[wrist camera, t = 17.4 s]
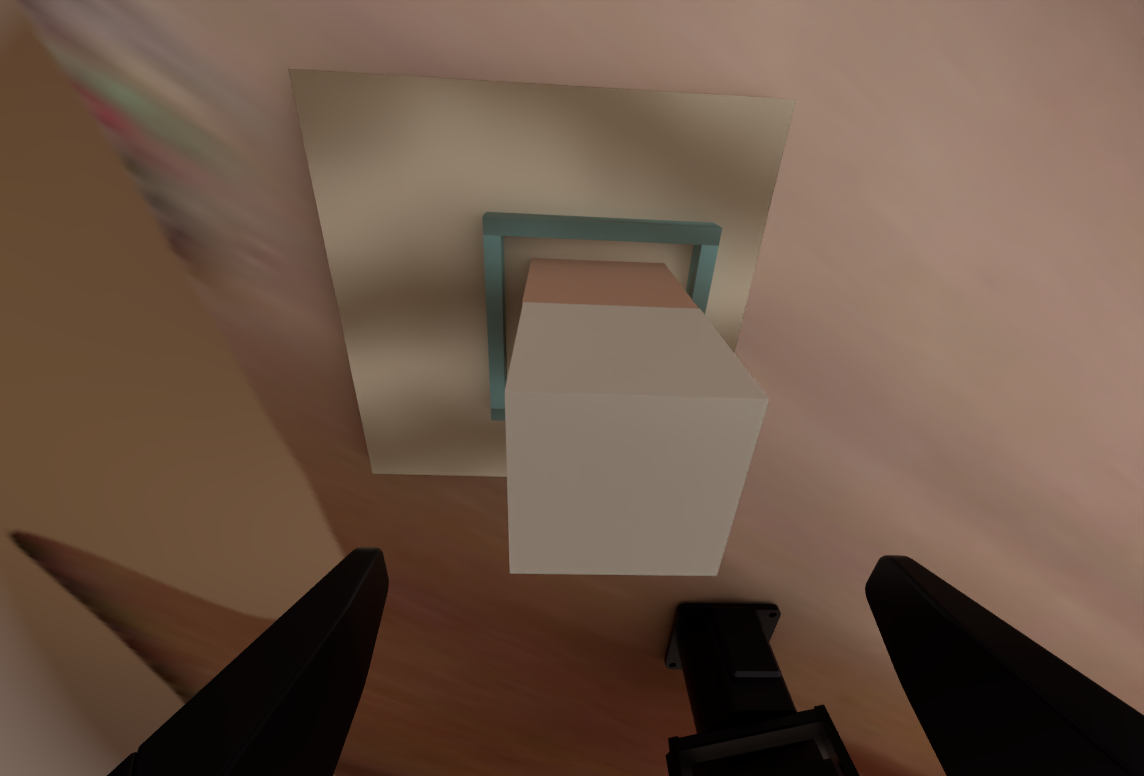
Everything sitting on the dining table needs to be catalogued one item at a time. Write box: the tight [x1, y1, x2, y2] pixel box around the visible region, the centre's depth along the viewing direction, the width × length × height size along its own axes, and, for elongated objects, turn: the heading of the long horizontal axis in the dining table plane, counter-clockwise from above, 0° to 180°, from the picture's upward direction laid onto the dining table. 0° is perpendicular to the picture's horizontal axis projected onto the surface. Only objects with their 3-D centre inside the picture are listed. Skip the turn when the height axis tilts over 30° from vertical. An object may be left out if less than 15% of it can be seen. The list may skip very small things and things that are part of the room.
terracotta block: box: [522, 258, 699, 309], centre depth 16 cm, size 5×5×5 cm
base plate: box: [288, 69, 796, 477], centre depth 19 cm, size 16×16×2 cm
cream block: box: [505, 302, 769, 576], centre depth 12 cm, size 5×5×5 cm
